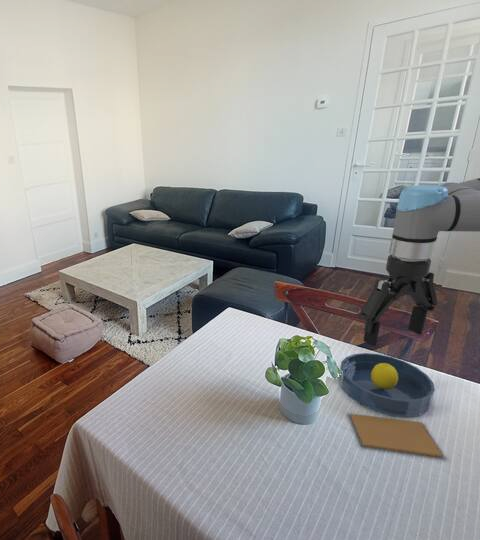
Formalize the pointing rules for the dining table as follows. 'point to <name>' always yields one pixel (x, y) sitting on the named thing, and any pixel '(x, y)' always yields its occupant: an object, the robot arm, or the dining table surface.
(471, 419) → the dining table surface
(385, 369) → the lemon
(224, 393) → the dining table surface
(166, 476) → the dining table surface
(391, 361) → the bowl
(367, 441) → the cork mat
